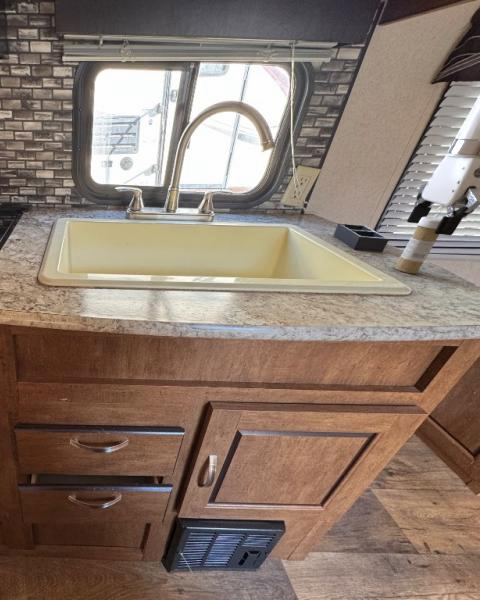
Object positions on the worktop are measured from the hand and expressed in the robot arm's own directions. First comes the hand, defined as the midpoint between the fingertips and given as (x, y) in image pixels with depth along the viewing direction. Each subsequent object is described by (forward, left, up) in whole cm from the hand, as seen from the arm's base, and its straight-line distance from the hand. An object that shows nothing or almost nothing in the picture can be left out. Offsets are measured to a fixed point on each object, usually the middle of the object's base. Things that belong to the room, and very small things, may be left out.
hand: (427, 228), depth 75 cm
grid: (+2, -21, -11) cm, 24 cm away
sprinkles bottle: (0, 0, -11) cm, 11 cm away
